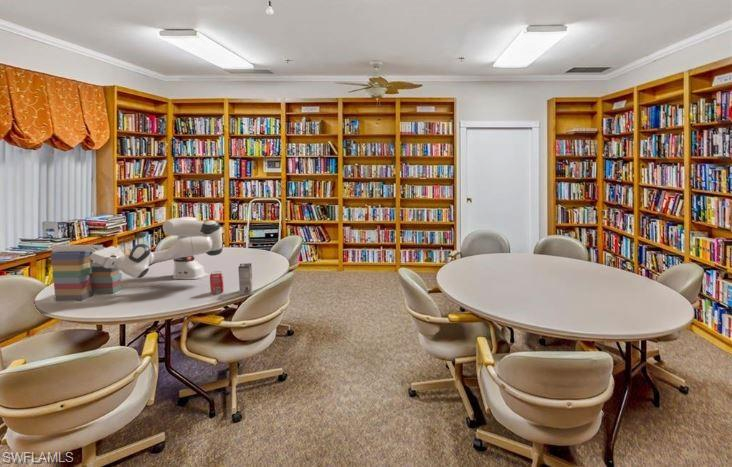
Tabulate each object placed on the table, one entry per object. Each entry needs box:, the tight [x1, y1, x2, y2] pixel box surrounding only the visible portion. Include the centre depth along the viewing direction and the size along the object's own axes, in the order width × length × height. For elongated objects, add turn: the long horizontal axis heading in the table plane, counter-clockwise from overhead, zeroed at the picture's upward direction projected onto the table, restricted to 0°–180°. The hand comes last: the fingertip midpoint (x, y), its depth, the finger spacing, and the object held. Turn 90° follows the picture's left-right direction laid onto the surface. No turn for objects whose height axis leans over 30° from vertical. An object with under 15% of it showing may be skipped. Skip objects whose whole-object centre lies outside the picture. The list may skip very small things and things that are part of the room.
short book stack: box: [89, 262, 123, 295], centre depth 233 cm, size 16×10×16 cm, turn 94°
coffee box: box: [237, 262, 253, 295], centre depth 233 cm, size 9×6×16 cm
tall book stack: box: [49, 252, 94, 302], centre depth 220 cm, size 14×10×26 cm
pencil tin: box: [51, 244, 104, 253], centre depth 218 cm, size 24×4×3 cm, turn 94°
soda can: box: [209, 270, 225, 295], centre depth 232 cm, size 7×7×12 cm
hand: (92, 247), depth 218 cm, fingers closed on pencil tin, 3 cm apart
